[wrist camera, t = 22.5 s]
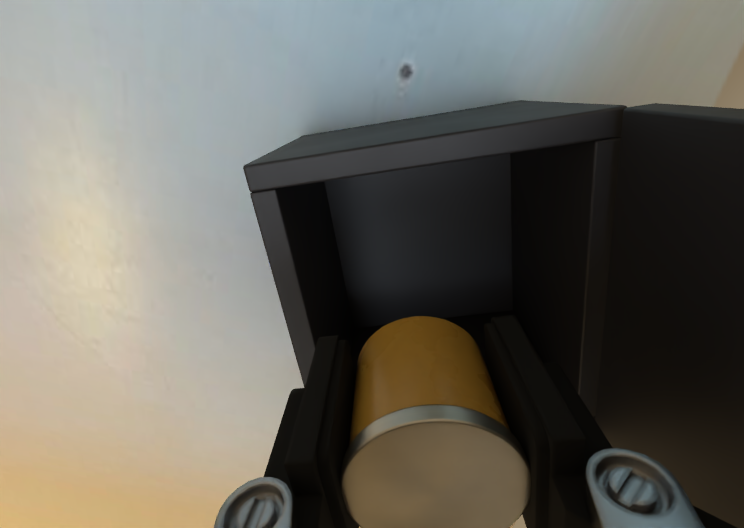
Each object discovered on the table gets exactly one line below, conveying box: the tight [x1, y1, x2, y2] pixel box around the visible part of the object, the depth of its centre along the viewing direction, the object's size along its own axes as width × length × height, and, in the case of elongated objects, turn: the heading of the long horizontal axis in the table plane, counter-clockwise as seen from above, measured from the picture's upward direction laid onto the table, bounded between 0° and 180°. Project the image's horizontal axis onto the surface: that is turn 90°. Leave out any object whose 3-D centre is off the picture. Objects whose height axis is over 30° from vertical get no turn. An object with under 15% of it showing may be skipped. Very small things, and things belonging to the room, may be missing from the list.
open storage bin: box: [243, 101, 627, 419], centre depth 17 cm, size 11×12×9 cm
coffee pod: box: [340, 316, 531, 528], centre depth 9 cm, size 4×4×4 cm
